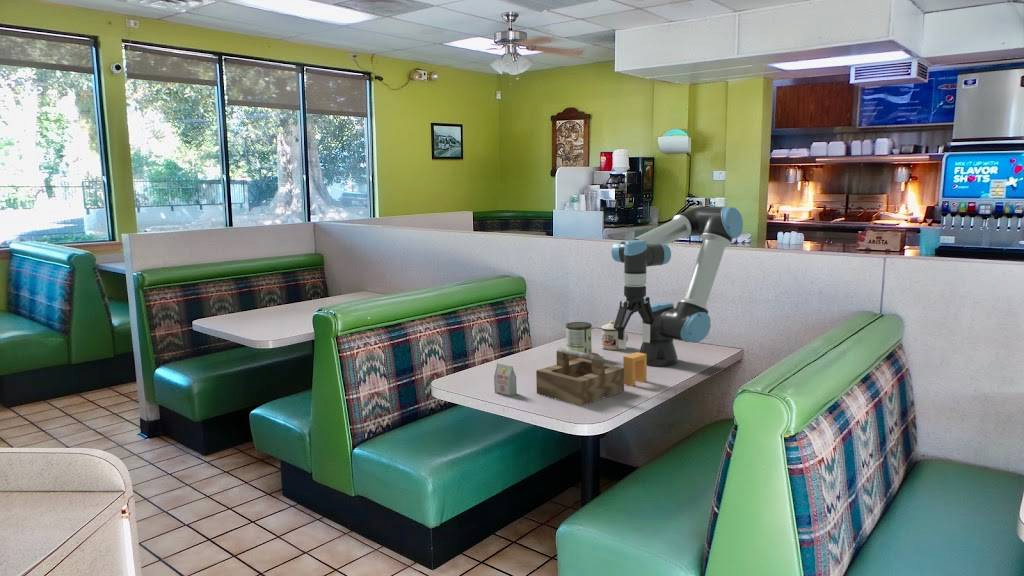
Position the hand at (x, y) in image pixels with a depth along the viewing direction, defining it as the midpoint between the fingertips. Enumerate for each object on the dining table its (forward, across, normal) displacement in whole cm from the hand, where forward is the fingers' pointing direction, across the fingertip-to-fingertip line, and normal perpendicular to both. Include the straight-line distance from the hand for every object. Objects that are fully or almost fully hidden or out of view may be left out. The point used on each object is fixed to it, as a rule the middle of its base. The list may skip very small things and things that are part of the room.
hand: (634, 345), depth 245 cm
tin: (+14, +4, -20) cm, 25 cm away
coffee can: (+14, -12, -37) cm, 41 cm away
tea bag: (+14, +38, -25) cm, 48 cm away
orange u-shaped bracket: (+14, 0, 0) cm, 14 cm away
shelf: (+14, +20, -7) cm, 26 cm away
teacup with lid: (+13, -36, -37) cm, 53 cm away
